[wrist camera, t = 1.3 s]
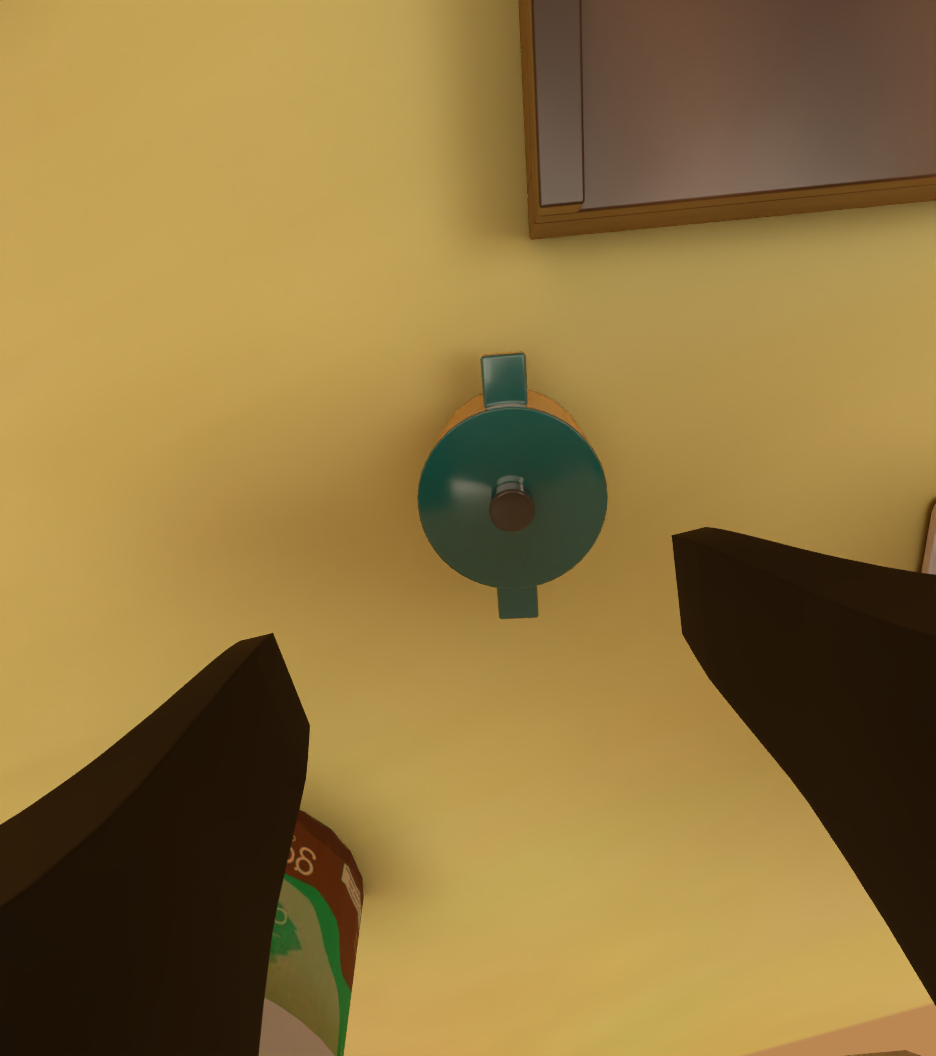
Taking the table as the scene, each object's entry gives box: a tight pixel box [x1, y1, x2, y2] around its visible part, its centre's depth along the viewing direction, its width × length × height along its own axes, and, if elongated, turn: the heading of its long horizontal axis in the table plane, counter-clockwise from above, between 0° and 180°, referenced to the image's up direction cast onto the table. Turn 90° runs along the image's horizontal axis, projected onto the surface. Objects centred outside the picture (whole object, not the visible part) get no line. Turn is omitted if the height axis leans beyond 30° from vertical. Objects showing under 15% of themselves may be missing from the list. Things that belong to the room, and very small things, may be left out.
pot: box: [418, 351, 608, 619], centre depth 18 cm, size 5×8×5 cm
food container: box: [259, 811, 363, 1056], centre depth 22 cm, size 12×6×10 cm, turn 85°
